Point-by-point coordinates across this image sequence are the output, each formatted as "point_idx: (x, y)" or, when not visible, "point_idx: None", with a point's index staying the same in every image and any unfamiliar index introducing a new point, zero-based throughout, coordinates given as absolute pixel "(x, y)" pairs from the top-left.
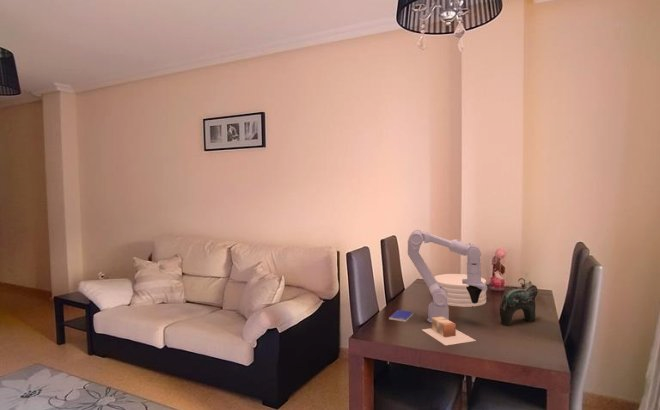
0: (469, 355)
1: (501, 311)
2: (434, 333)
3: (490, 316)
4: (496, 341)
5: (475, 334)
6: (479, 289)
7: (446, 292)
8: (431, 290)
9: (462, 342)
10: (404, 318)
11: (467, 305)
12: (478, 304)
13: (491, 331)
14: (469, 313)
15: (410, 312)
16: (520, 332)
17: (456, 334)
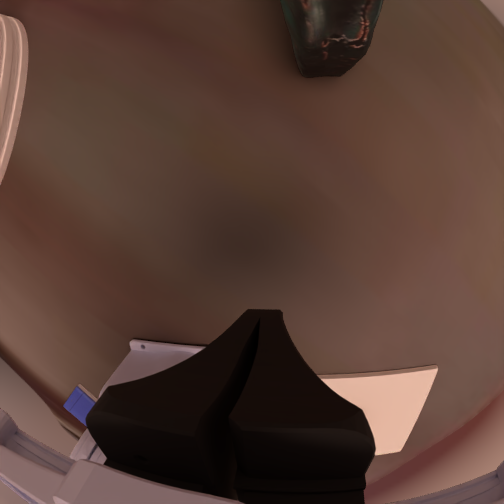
0: (470, 415)
1: (326, 55)
2: None
3: (157, 60)
4: (474, 287)
5: (380, 325)
6: (354, 471)
7: (97, 458)
8: None
9: (418, 412)
10: None
11: (16, 115)
12: (23, 60)
13: (385, 220)
14: (84, 152)
15: (81, 397)
16: (441, 86)
17: (353, 402)
